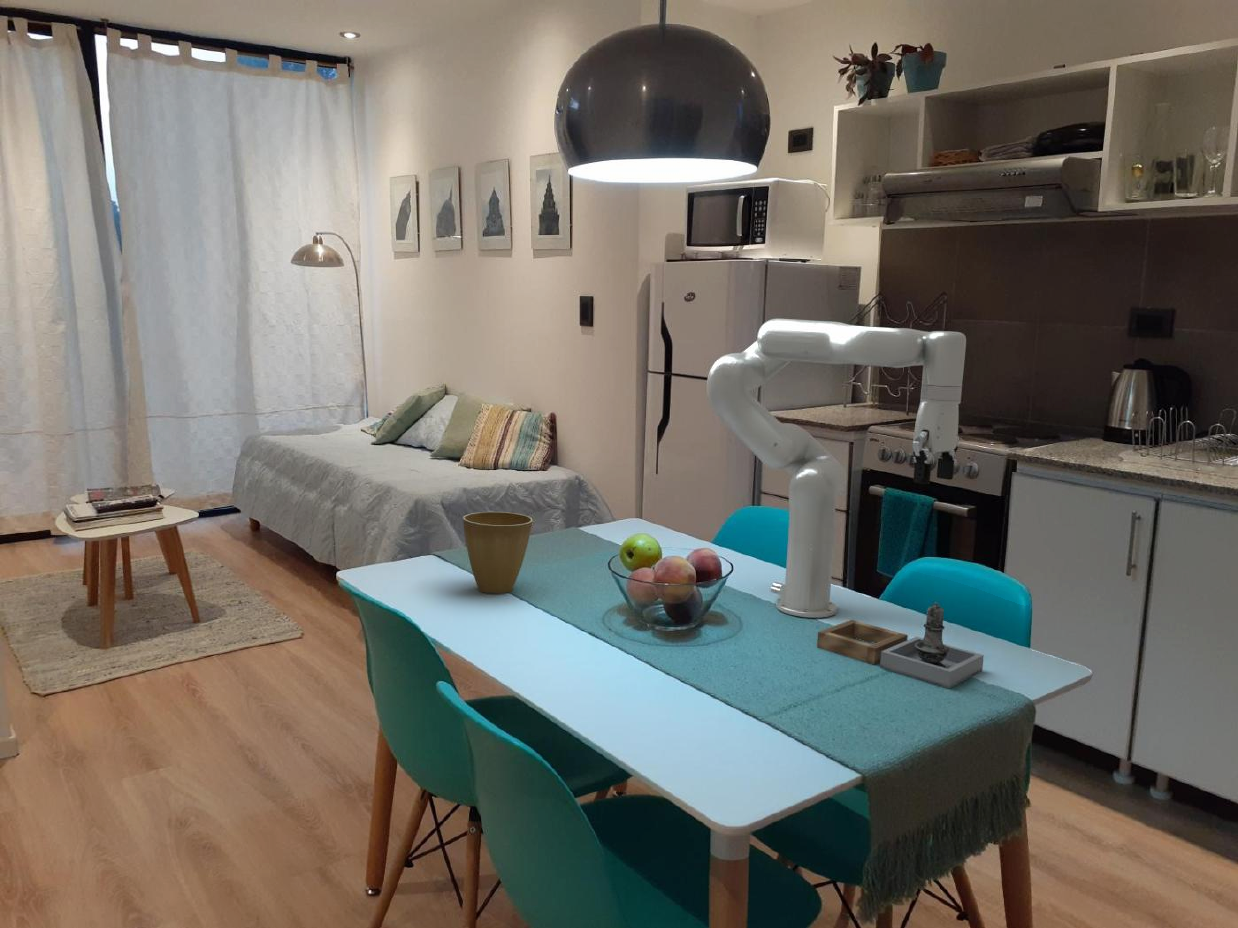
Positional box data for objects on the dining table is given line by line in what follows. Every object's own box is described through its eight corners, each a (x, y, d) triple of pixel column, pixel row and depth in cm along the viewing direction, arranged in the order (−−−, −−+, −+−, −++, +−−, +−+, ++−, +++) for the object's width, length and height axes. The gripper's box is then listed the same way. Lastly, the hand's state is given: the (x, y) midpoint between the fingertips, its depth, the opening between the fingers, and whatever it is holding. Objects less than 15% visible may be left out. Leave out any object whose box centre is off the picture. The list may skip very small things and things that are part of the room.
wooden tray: (816, 647, 184) (818, 631, 183) (850, 634, 192) (851, 619, 192) (873, 664, 176) (875, 648, 175) (906, 650, 184) (907, 634, 184)
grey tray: (879, 667, 174) (881, 651, 174) (915, 651, 184) (916, 636, 183) (948, 688, 165) (950, 671, 165) (982, 670, 175) (983, 654, 174)
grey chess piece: (954, 668, 174) (961, 603, 172) (932, 674, 171) (939, 607, 169) (928, 658, 179) (934, 594, 177) (906, 663, 175) (912, 598, 174)
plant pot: (503, 603, 203) (505, 528, 201) (447, 590, 211) (448, 518, 208) (543, 587, 216) (545, 517, 214) (489, 576, 224) (491, 508, 221)
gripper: (943, 392, 200) (935, 474, 202) (901, 394, 188) (894, 482, 190) (978, 395, 195) (970, 479, 197) (938, 397, 182) (930, 488, 185)
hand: (933, 480), depth 194 cm, fingers open, 9 cm apart
